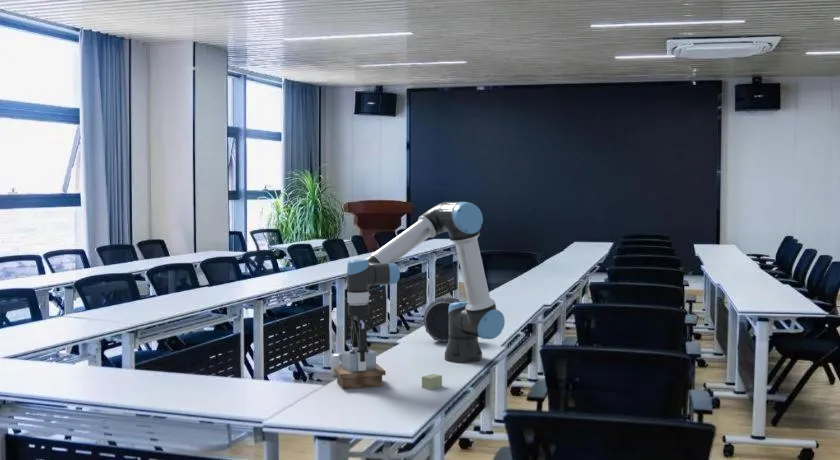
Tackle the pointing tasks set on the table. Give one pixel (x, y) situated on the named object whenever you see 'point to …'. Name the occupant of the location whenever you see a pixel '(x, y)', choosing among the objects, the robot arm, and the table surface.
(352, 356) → the housing
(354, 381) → the walnut stand
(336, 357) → the grey metal can
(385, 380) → the table surface
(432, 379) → the olive painted block
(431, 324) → the dark grey drum
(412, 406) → the table surface
